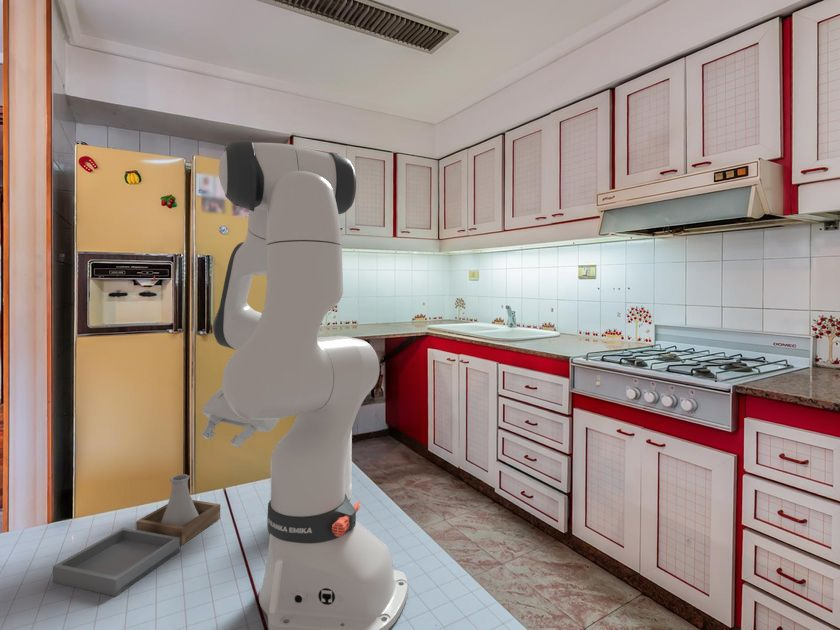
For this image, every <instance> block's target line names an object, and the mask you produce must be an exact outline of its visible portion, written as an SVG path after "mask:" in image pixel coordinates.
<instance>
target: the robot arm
mask: <svg viewBox="0 0 840 630" xmlns="http://www.w3.org/2000/svg"><path fill="white" fill-rule="evenodd" d="M355 170H356V169H355V167H354V166H353V164H352V162H351V160H350V159H348V158H346V157H345V156H342V155H339V154H337V153H335V152H328V153H326V152H324V151H323V152H322V151H321V150H320V151H319V150H315V149H312V148H306V147H301V146H295V145H294V144H288V143H278V142H253V141H252V140H251V139H250V140H249V139H247V140H236V141H235V140H234V141H231V142H230V143H228V144H227V145H226V147H225V148H224V152H223V153H222V155H221V158H220V160H219V166H218V180H219V183H220V186H221V189H222V190H223V192H224V195H225V198H226V199H227V200H228V201H229V202H231V204H233V206H238V207H239V208H243V209H246V210H249V212H248V220H247V234H246V235H245V236H246V237H245V240H244V241H241V242H240V243H238V244H236V246H235V247H234V248H233V250H232V252H231V254H230V258H229V261H228V263H227V264H228V265H227V269H226V273H225V278H224V284H223V289H222V293H221V298H220V301H219V303H220V304H219V307H218V310H217V313H216V314H215V318H214V320H213V324H212V332H213V335H214V338H215V340H216V343H218V345H220V346H222V347H226V348H229V349H232V350H234V351H235V350H236V351H235V352H234V353H233V354H232V355H231V356H230V358H229V359H228V361H227V362H226V364H225V367H224V370H223V372H222V373H223V374H222V380H221V381H222V383H221V386H222V387H220V388H219V389H218V390H216V392H214V394H213V395H211V396H210V398H209V399H208V400H207V402H206V403H205V404H204V405H203V407H202V410H201V413H202V414H203V415H204V416H205V417H206V418H208V419H207V421H206V423H205V424H206V426H205V428H204V430H203V431H202V433H201V437H203V438H204V439H207V440H212V439H213V437H214V436H215V435H216V432H215V428H216V426H217V427H218V425H219V424H220V423H224V424H228V425H232V426H236V427H241V428H243V430H242V431H241V432H240V433H238V435H236V434H235V435H234V436H233V437H232V439H231V440H230V444H231V445H232V446H233V447H237V448H241V446H242V445H243V444H244V442H246V440H248V439H249V438H251V437H252V436H253V435H254V434H255V433H256V431H258V432H262V433H269V432H272V430H273V429H274V428H275V427H276V426H277V424H278V423H279V421H280V420H281V419H285V418H289V417H293V416H296V417H295V420H294V422H293V424H292V426H291V427H290V429H289V430H288V432H286V434H285V435H284V436H283V437H282V438H281V439H280V440H279V441H278V442H277V443H276V444H275V446H274V448H273V450H272V453H271V457H270V500H269V501H268V504H267V515H266V517H267V520H266V521H267V523H266V527H267V531H268V532H267V533H268V535H269V539H268V540H269V541H268V550H267V551H268V553H267V559H266V565H265V566H266V567H265V570H264V575H263V576H264V577H263V580H262V584H261V587H260V591H259V594H258V602H259V604H260V608H261V609H262V610H263V612H264V613H265V614H266V616H267V627H268V630H390V629H391V628H392V626H394V624H395V623H396V621H397V620H398V618H399V617H400V615H401V613H402V611H403V609H404V607H405V604H406V602H407V598H408V594H409V585H408V579H407V576H406V574H405V572H403V571H400V570H397V569H394V564H393V558H392V554H391V551H390V549H389V547H388V545H387V544H385V542H383V541H381V540H380V539H379V538H378V537H376V536H375V534H373V533H372V532H371V531H370V530H369V529H368V528H366V527H365V526H363V525H362V524H361V523H360V522H359V521H358V520H356V519H357V515H356V514H357V513H358V511H359V510H360V503H361V501H360V500H358V501H357V502H356V503H355V504H354V505H353V504H352V503H351V502H350V500H348V497H347V495H346V494H345V469H346V452H347V445H348V441H349V436H350V433H351V430H353V426H354V424H355V420H356V418H357V415H358V413H359V410H360V408H361V406H362V404H363V403H364V400H365V399H366V397H367V396H368V394H369V393H370V392H371V391H372V390H373V389H374V388H375V387H376V385H377V383H378V380H379V376H380V371H381V370H380V361H379V357H378V354H377V352H376V351H375V349H374V348H373V346H372V345H371V344H370V343H368V342H367V341H366V340H363V339H362V338H361V339H360V338H356V337H351V336H346V335H345V336H344V335H331V336H329V335H328V336H320V337H319V332H320V329H321V325H322V323H323V320H324V318H325V316H326V314H327V313H328V312H329V311H330V310H332V309H333V308H334V307H336V306H337V305H338V304H339V303H340V301H341V300H342V298H343V294H344V277H343V275H344V274H343V248H342V247H343V245H342V234H341V233H342V230H341V223H340V215H342V214H345V213H346V212H348V210H349V209H350V208H351V207H352V206H353V204H354V202H355V199H356V194H357V175H356V171H355ZM254 276H266V293H265V300H264V305H263V309H262V312H260V311H258V310H255V309H253V308H252V307H251V306H250V305H249V303H248V299H249V295H250V290H251V286H252V283H253V277H254Z"/></svg>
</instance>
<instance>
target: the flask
mask: <svg viewBox="0 0 840 630" xmlns="http://www.w3.org/2000/svg"><path fill="white" fill-rule="evenodd" d="M190 477H191V476H190V475H188V474H186V473H185V474H182V473H181V474H179V473H178V474H177V475H174V476H172V477H171V478H169V482H170V483H171V490H170V496H169V499H168V503H167V504H168V505H167V508H166V511H165V513H164V516H163V518H162V521H161V523H165V524H171V525H176V526H183V525H184V524H186V523H188V522H189V521H191V520H192V519H194V518H195V517H197V516H198V515H199V514H198V512H197V510H196V508H195V506H194V503H193V501H192V500H193V499H192V497H191V494H190V489H189V479H190Z"/></svg>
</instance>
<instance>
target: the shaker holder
mask: <svg viewBox="0 0 840 630" xmlns="http://www.w3.org/2000/svg"><path fill="white" fill-rule="evenodd" d="M192 501H193V503H194V506H195V508H196V510H197V512H198V514H199V515H198V516H197V517H195V518H194V519H192V520H191V521H189V522H188V523H186V524H184V525H183V526H176V525H171V524H165V523H161V521H162V518H163V516H164V513H165V511H166V508H167V505H168V503H166V504H164V505H162V507H159V508H157V509H156V510H154V511H152V512H150V513H148V514H146V515H145V516H143V517H142V518H140V519H138V520H136V521H135V528H136V529H135V530H140V531H145V532H151V533H157V534H162V535H168V536H173V537H179V538H180V546H184V545H185V544H186V543H188V542H189V541H190V540H192V539H193V538H195V537H196V536H198V535H199V534H201V533H202V532H203V531H205V530H207V529H208V528H210V526H212V525H213V524H215V523H217V522H218V521H219V520H221V503H216V502H215V503H214V502H209V501H208V502H207V501H202V500H196V499H195V500H194V499H192Z"/></svg>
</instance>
